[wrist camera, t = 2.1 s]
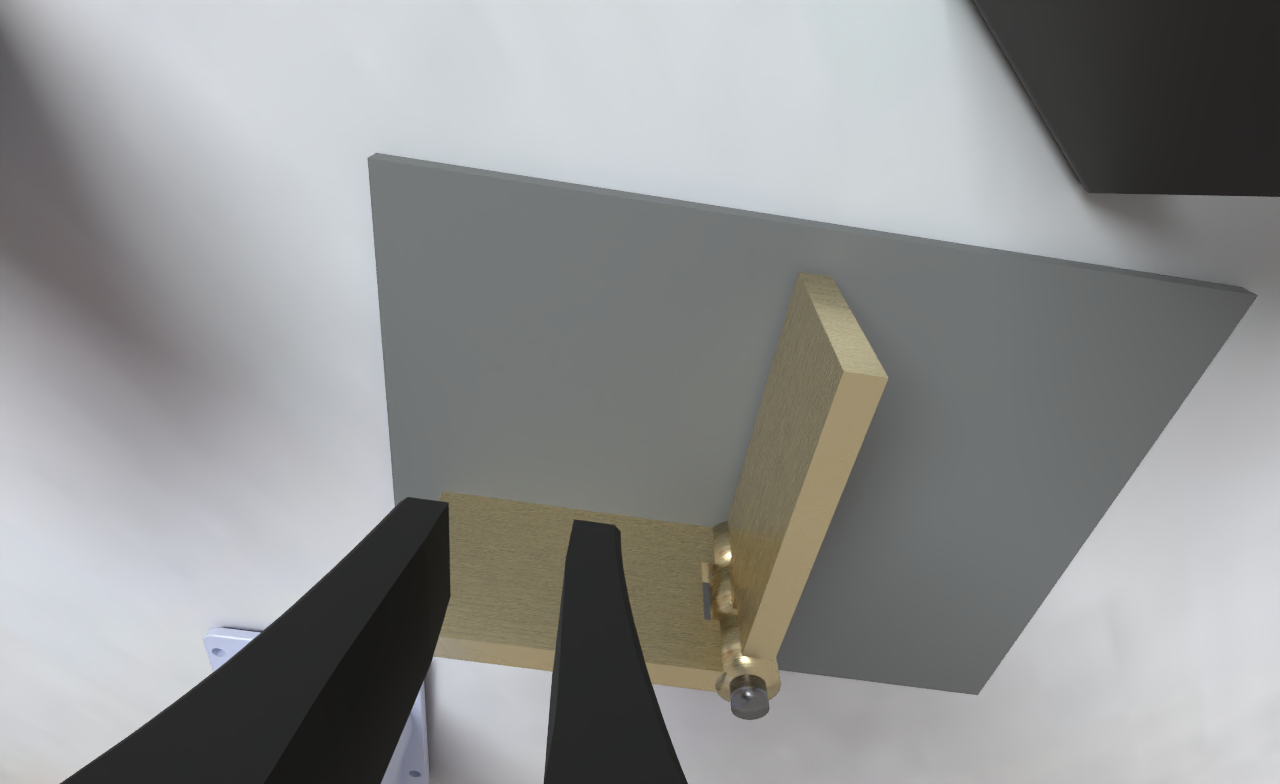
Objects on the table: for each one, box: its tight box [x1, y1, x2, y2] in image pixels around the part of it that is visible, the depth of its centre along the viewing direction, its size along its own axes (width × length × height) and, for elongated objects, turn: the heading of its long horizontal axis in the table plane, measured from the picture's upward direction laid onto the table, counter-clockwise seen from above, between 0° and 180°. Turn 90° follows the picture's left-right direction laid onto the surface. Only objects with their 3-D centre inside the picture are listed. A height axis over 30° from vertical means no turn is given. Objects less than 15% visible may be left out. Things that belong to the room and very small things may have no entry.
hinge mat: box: [368, 153, 1257, 695], centre depth 19 cm, size 16×21×1 cm
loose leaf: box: [709, 271, 888, 660], centre depth 16 cm, size 10×2×5 cm, turn 172°
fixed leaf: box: [433, 491, 781, 720], centre depth 18 cm, size 10×2×6 cm, turn 82°
